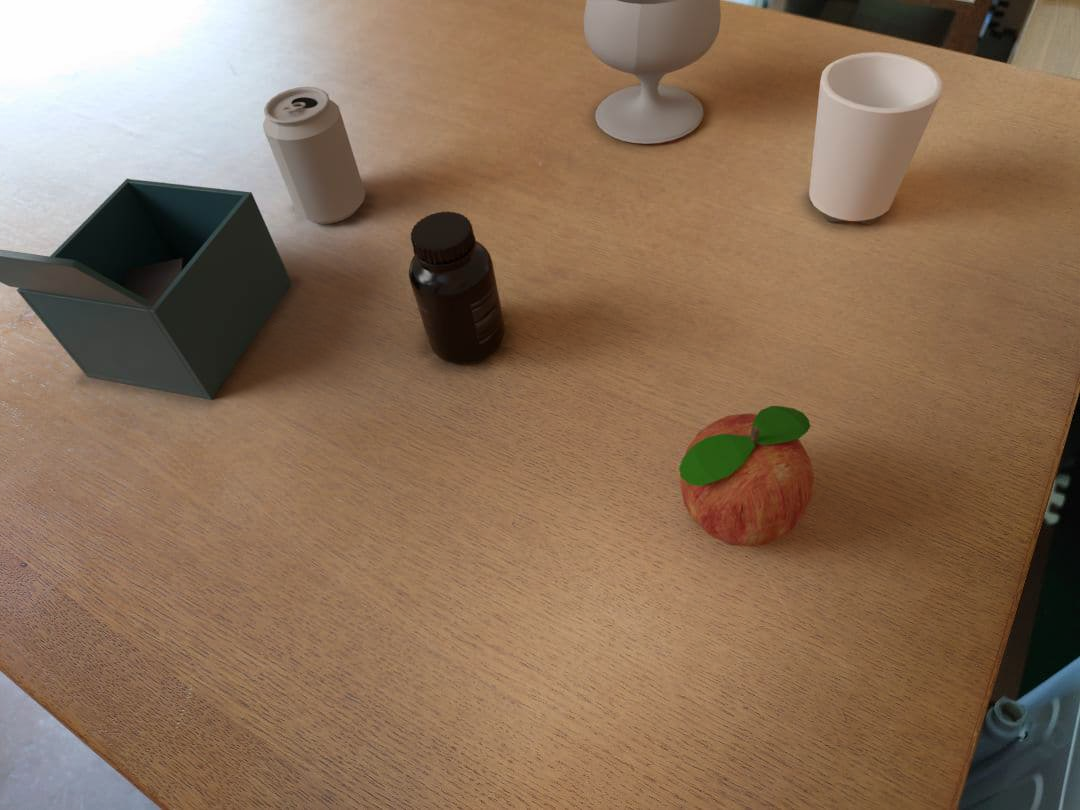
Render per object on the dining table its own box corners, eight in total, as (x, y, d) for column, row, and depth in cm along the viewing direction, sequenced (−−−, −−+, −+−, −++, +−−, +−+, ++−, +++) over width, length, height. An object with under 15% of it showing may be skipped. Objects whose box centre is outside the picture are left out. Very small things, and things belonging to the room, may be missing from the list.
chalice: (695, 159, 82) (707, 15, 71) (571, 143, 86) (562, 4, 75) (723, 91, 90) (737, -48, 79) (607, 79, 94) (605, -56, 83)
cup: (906, 240, 72) (950, 113, 62) (795, 233, 74) (821, 109, 64) (897, 176, 78) (937, 51, 68) (795, 171, 80) (819, 50, 70)
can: (381, 193, 83) (350, 88, 74) (339, 235, 79) (301, 129, 70) (326, 179, 86) (290, 75, 77) (283, 219, 82) (239, 114, 73)
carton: (211, 399, 66) (154, 311, 58) (87, 377, 70) (15, 290, 61) (292, 282, 75) (251, 192, 67) (178, 267, 78) (126, 178, 70)
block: (152, 309, 74) (145, 377, 68) (126, 269, 70) (117, 338, 64) (205, 297, 74) (203, 364, 69) (182, 257, 70) (177, 324, 65)
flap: (150, 301, 58) (147, 308, 58) (11, 280, 61) (9, 286, 61) (75, 259, 51) (72, 266, 51) (-77, 238, 54) (-80, 245, 54)
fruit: (829, 541, 53) (864, 457, 46) (703, 589, 52) (717, 511, 44) (765, 447, 59) (786, 358, 51) (649, 488, 57) (652, 403, 49)
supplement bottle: (491, 302, 71) (471, 192, 62) (516, 352, 67) (498, 242, 58) (420, 325, 70) (388, 217, 61) (440, 377, 66) (410, 269, 57)
